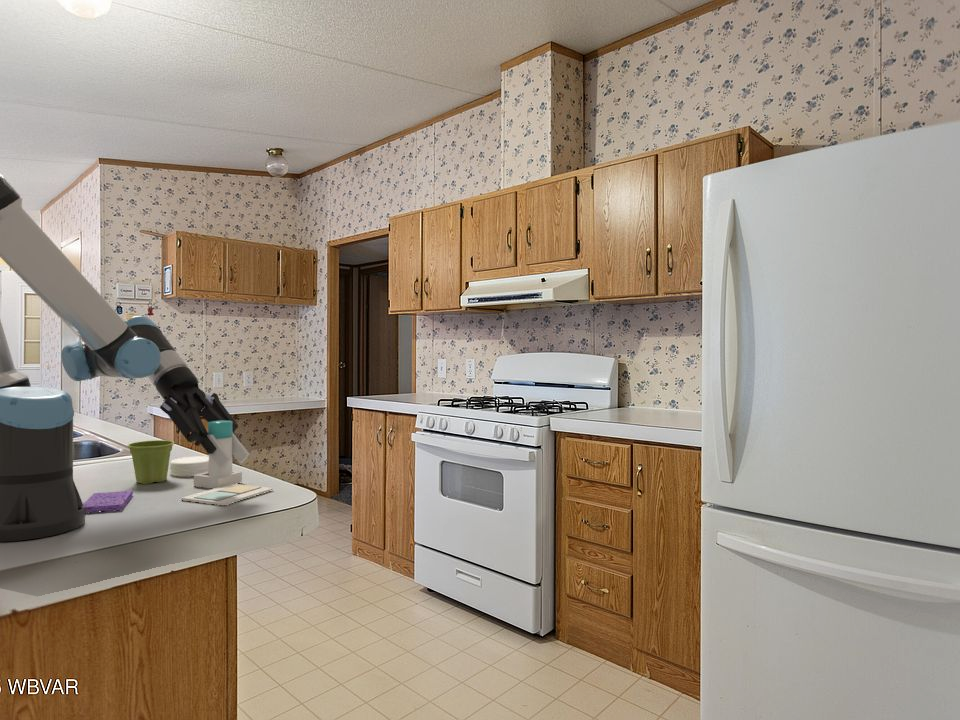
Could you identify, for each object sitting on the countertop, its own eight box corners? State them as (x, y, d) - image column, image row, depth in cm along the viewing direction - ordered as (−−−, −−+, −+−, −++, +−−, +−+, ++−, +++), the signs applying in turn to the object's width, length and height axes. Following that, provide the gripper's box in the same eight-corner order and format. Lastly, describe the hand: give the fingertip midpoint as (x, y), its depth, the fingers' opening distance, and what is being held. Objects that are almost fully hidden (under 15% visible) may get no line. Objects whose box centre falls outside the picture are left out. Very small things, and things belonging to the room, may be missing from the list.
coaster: (175, 479, 145) (175, 464, 145) (165, 472, 153) (165, 458, 153) (220, 474, 151) (220, 460, 151) (208, 468, 159) (208, 454, 159)
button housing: (218, 489, 134) (218, 477, 134) (193, 486, 137) (193, 475, 137) (241, 483, 141) (241, 472, 141) (217, 480, 143) (217, 469, 143)
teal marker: (221, 479, 124) (220, 424, 123) (203, 477, 125) (202, 422, 125) (237, 474, 128) (237, 421, 128) (220, 472, 130) (219, 420, 129)
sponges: (78, 516, 114) (78, 506, 114) (93, 500, 126) (93, 491, 126) (122, 513, 117) (122, 503, 117) (133, 498, 128) (133, 489, 128)
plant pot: (160, 486, 137) (160, 446, 137) (118, 485, 137) (118, 446, 137) (182, 477, 147) (182, 440, 146) (142, 476, 147) (142, 439, 147)
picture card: (224, 506, 120) (224, 502, 120) (181, 500, 124) (181, 497, 124) (272, 490, 134) (272, 487, 134) (232, 486, 137) (232, 483, 137)
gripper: (195, 386, 140) (255, 465, 134) (125, 392, 123) (190, 482, 118) (213, 363, 138) (275, 442, 132) (145, 366, 121) (212, 456, 116)
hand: (235, 461), depth 125 cm, fingers closed on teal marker, 4 cm apart
